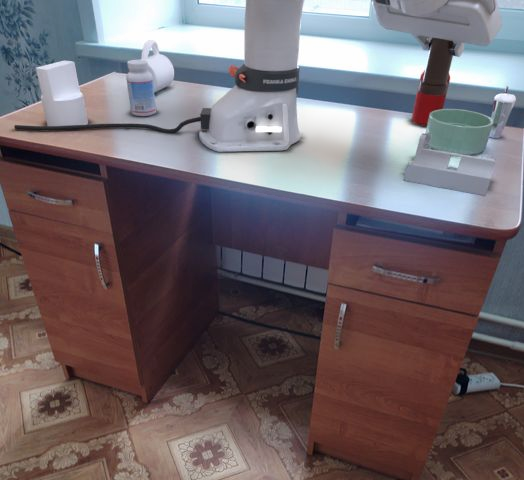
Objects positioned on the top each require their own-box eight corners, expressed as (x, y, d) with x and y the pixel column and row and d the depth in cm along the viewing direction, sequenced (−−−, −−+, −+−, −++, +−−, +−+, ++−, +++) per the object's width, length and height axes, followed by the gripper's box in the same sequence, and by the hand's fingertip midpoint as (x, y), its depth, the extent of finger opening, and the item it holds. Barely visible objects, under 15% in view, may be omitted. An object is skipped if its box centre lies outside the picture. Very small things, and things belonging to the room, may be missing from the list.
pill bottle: (161, 112, 124) (156, 61, 117) (144, 118, 121) (138, 65, 113) (143, 108, 127) (137, 57, 120) (125, 113, 123) (118, 61, 116)
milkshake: (503, 133, 120) (518, 87, 113) (503, 140, 116) (519, 93, 110) (483, 130, 121) (497, 85, 114) (483, 137, 117) (497, 90, 111)
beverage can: (436, 120, 126) (449, 66, 119) (441, 128, 121) (454, 73, 114) (409, 118, 127) (420, 64, 119) (412, 126, 122) (424, 71, 114)
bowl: (445, 159, 105) (453, 129, 102) (411, 139, 115) (417, 111, 111) (497, 153, 109) (506, 124, 105) (460, 134, 118) (467, 107, 114)
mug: (130, 93, 137) (124, 42, 129) (149, 85, 144) (144, 36, 136) (158, 97, 135) (153, 45, 127) (175, 88, 142) (172, 39, 134)
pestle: (428, 96, 86) (447, 8, 78) (413, 89, 90) (430, 4, 81) (451, 94, 87) (473, 8, 79) (436, 87, 91) (455, 4, 83)
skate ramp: (403, 180, 96) (409, 153, 93) (416, 158, 105) (422, 133, 102) (485, 195, 92) (494, 168, 88) (491, 171, 101) (500, 145, 98)
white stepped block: (66, 115, 121) (54, 58, 113) (96, 121, 118) (86, 63, 110) (38, 125, 114) (23, 66, 106) (69, 132, 112) (56, 71, 104)
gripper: (506, -34, 67) (513, 43, 79) (381, -45, 78) (403, 24, 90) (479, 8, 68) (490, 78, 79) (359, -8, 79) (384, 56, 90)
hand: (443, 50), depth 85 cm, fingers closed on pestle, 4 cm apart
